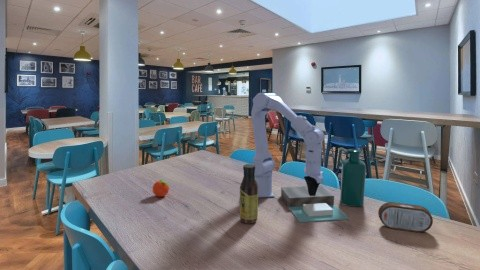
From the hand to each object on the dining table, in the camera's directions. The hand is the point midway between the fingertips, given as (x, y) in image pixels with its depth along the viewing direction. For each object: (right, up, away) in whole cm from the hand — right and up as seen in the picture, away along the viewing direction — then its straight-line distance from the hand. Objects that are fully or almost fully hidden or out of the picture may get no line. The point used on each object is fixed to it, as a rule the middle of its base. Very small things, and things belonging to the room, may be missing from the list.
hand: (312, 195), depth 104 cm
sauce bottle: (-25, -7, -10) cm, 28 cm away
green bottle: (+17, -4, +5) cm, 18 cm away
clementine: (-62, -4, +12) cm, 63 cm away
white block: (+1, -3, -5) cm, 6 cm away
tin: (+25, -7, -17) cm, 31 cm away
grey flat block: (-1, -4, +7) cm, 8 cm away
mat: (+1, -6, -5) cm, 8 cm away
